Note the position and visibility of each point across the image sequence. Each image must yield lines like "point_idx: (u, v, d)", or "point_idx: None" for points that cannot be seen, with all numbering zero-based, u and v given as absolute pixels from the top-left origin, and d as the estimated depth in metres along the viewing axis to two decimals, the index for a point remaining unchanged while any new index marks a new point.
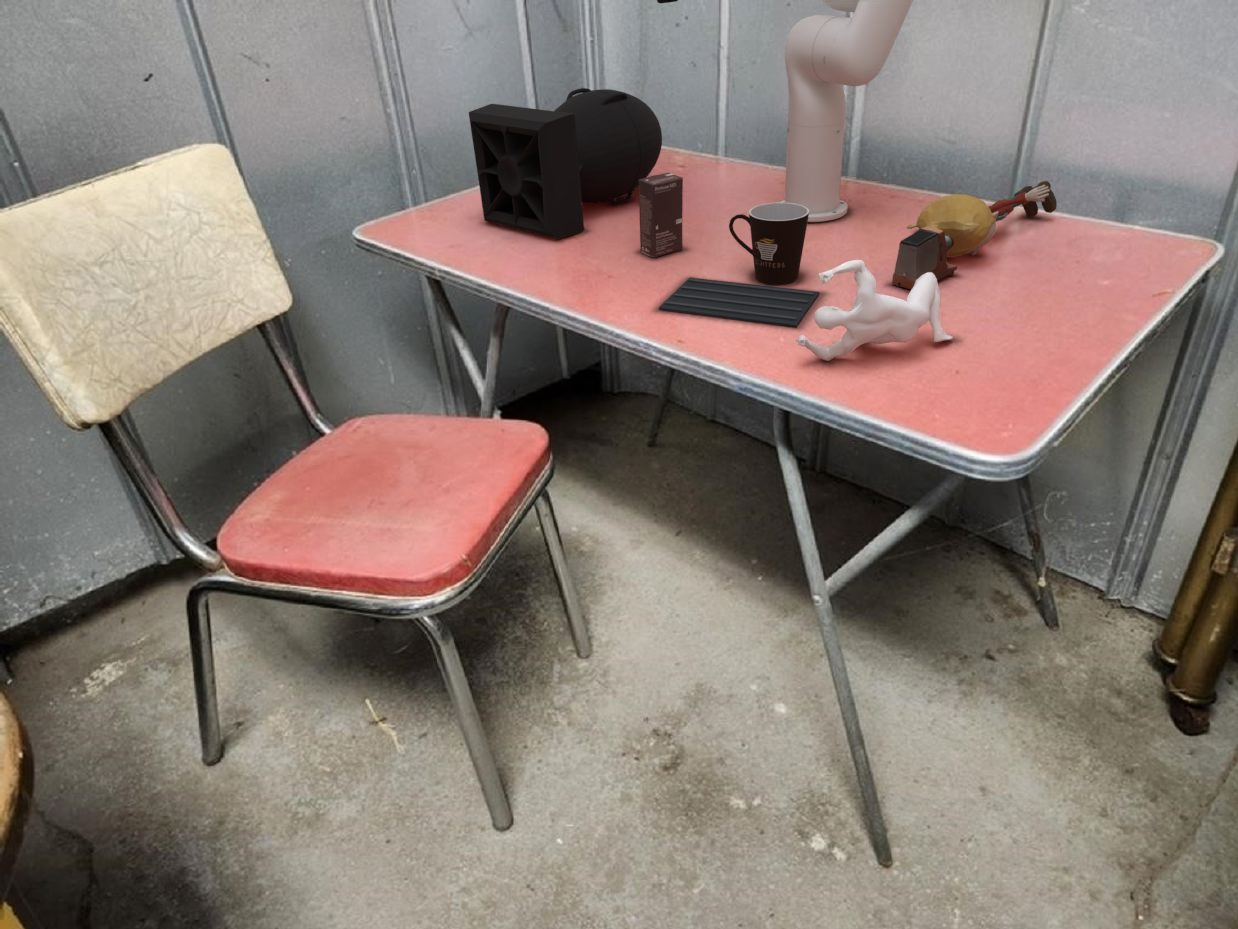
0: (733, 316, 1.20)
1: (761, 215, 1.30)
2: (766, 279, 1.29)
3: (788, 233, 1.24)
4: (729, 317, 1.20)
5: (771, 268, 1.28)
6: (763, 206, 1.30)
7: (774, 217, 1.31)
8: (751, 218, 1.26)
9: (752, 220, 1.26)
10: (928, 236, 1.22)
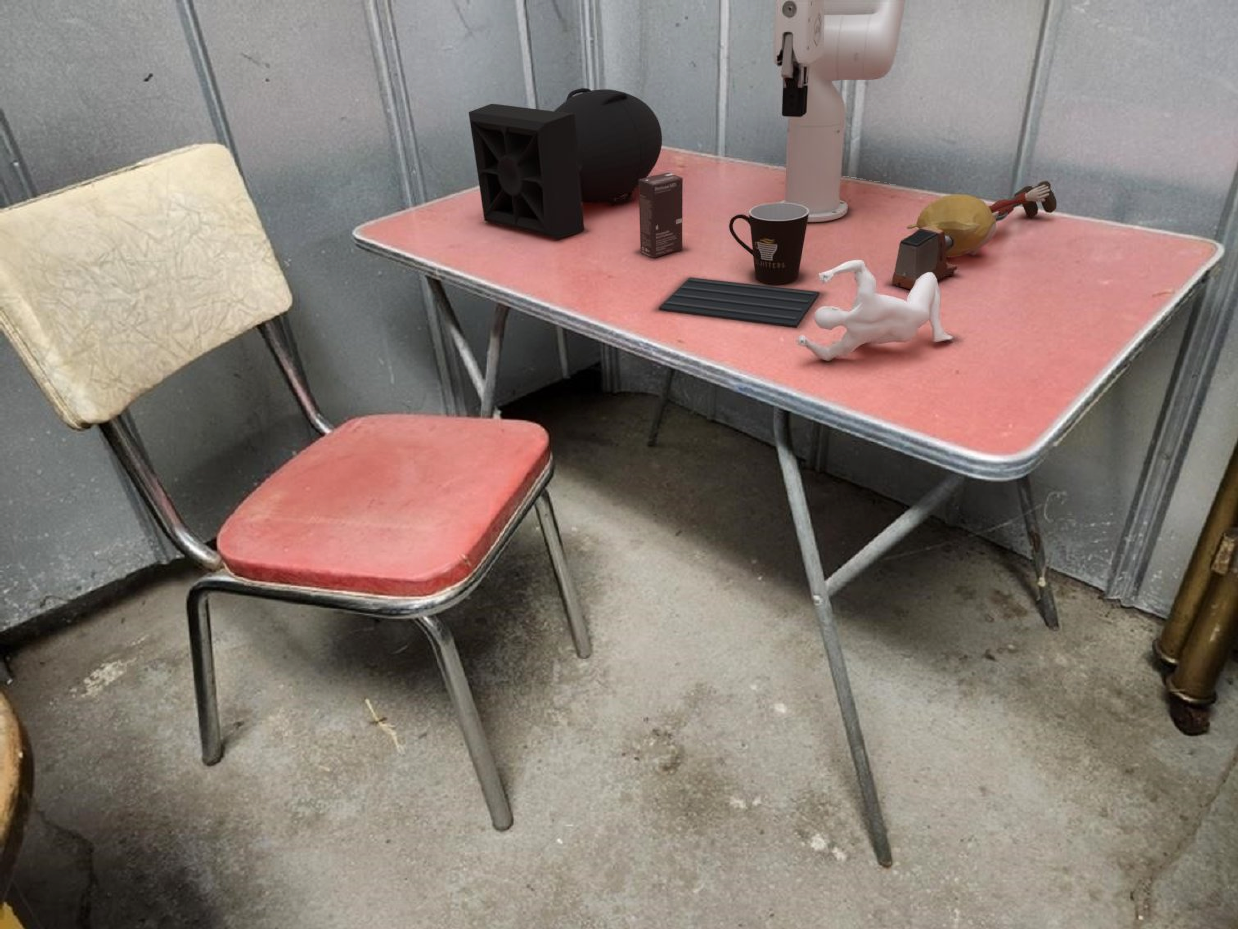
0: (733, 316, 1.20)
1: (761, 215, 1.30)
2: (766, 279, 1.29)
3: (788, 233, 1.24)
4: (729, 317, 1.20)
5: (771, 268, 1.28)
6: (763, 206, 1.30)
7: (774, 217, 1.31)
8: (751, 218, 1.26)
9: (752, 220, 1.26)
10: (928, 236, 1.22)
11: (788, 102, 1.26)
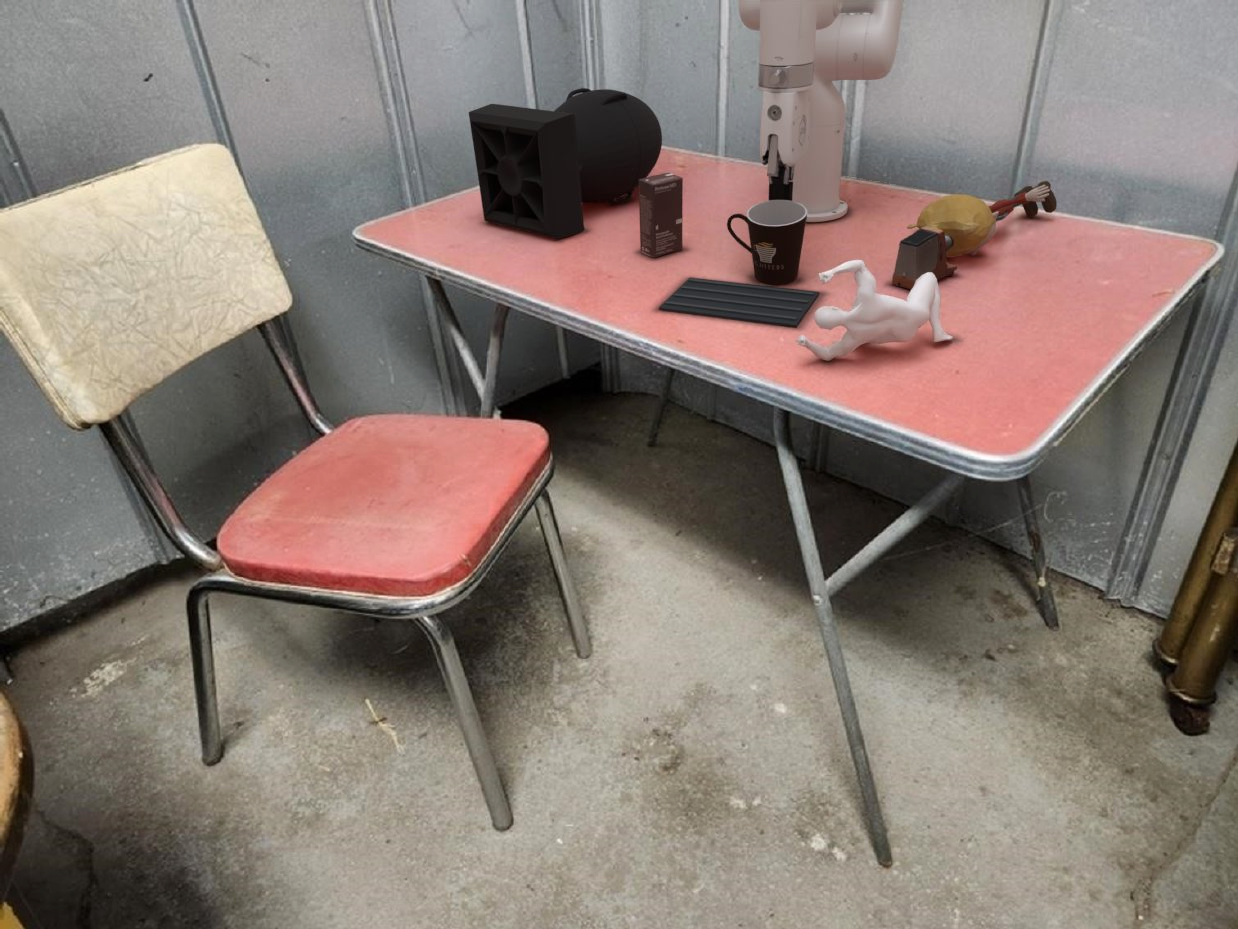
0: (733, 316, 1.20)
1: (759, 214, 1.29)
2: (766, 280, 1.29)
3: (786, 237, 1.23)
4: (729, 317, 1.20)
5: (770, 270, 1.27)
6: (761, 205, 1.28)
7: (772, 214, 1.29)
8: (749, 221, 1.25)
9: (750, 224, 1.25)
10: (928, 236, 1.22)
11: (774, 197, 1.29)
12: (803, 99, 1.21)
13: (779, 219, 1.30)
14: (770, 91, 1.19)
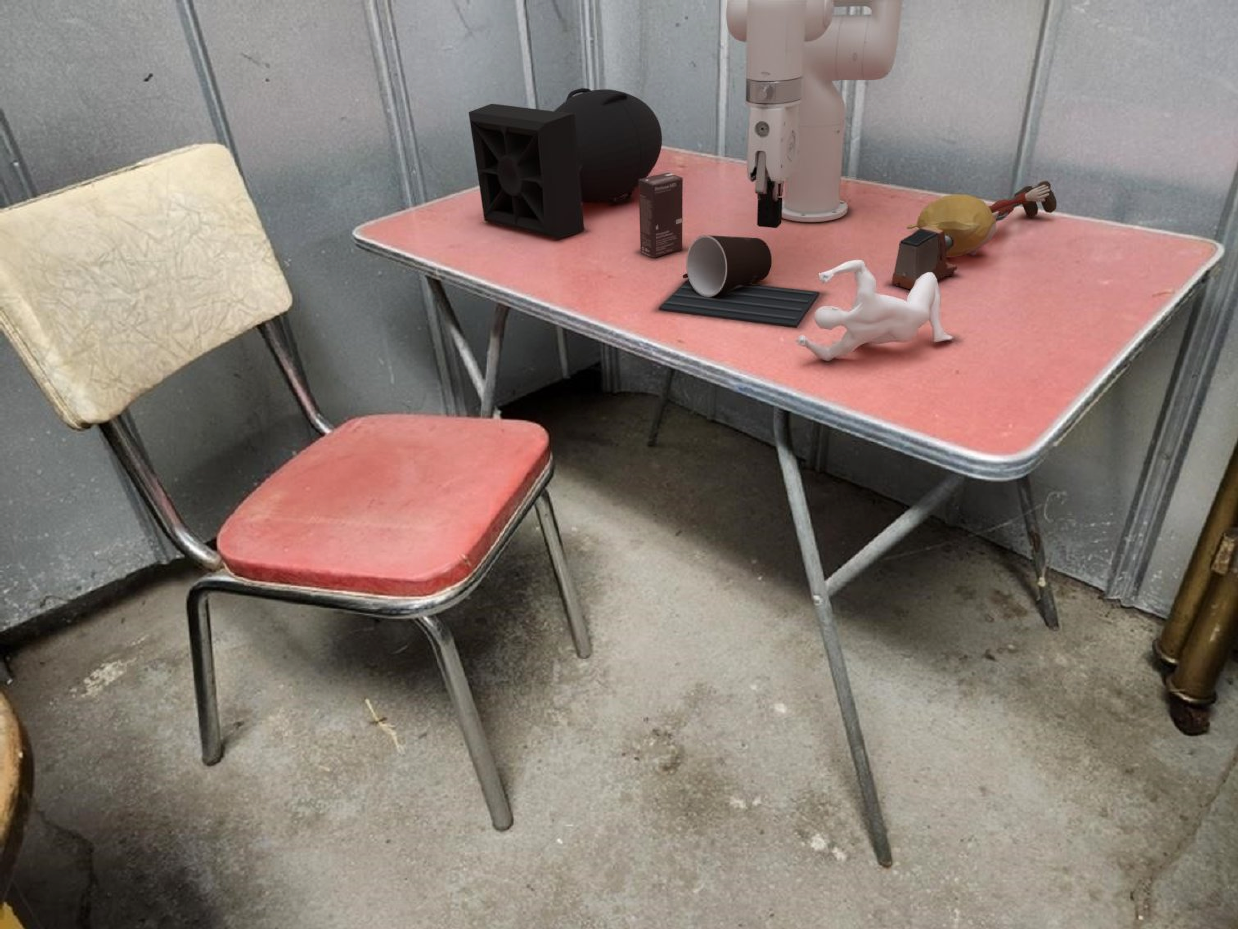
0: (733, 316, 1.20)
1: (696, 260, 1.28)
2: None
3: (733, 280, 1.23)
4: (729, 317, 1.20)
5: (751, 283, 1.28)
6: (689, 258, 1.27)
7: (702, 247, 1.27)
8: None
9: None
10: (927, 236, 1.22)
11: (763, 214, 1.25)
12: (792, 114, 1.18)
13: (710, 242, 1.26)
14: (757, 107, 1.16)
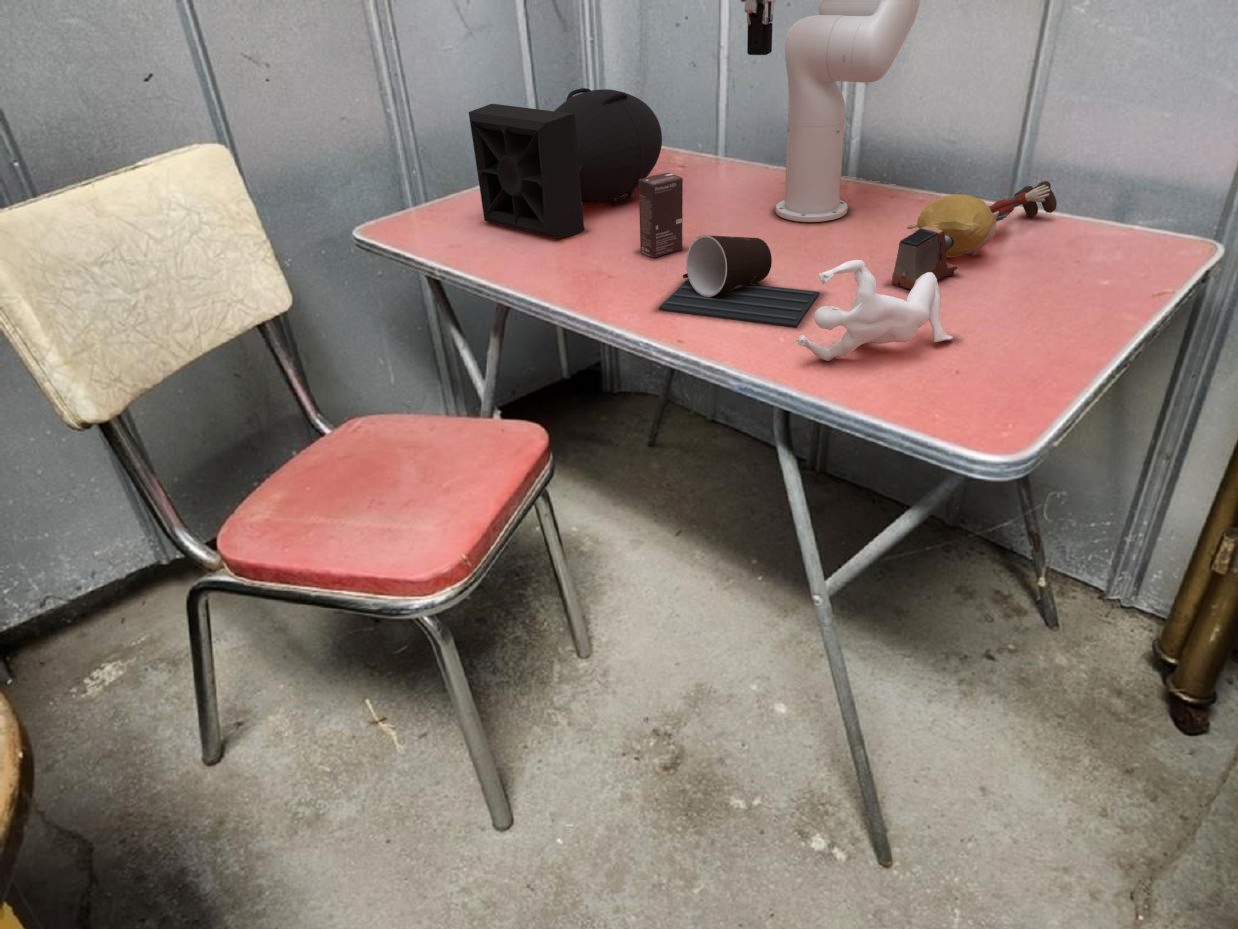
0: (733, 316, 1.20)
1: (696, 260, 1.28)
2: None
3: (733, 280, 1.23)
4: (729, 317, 1.20)
5: (751, 283, 1.28)
6: (689, 258, 1.27)
7: (702, 247, 1.27)
8: None
9: None
10: (927, 236, 1.22)
11: (753, 39, 1.25)
12: None
13: (710, 242, 1.26)
14: None
